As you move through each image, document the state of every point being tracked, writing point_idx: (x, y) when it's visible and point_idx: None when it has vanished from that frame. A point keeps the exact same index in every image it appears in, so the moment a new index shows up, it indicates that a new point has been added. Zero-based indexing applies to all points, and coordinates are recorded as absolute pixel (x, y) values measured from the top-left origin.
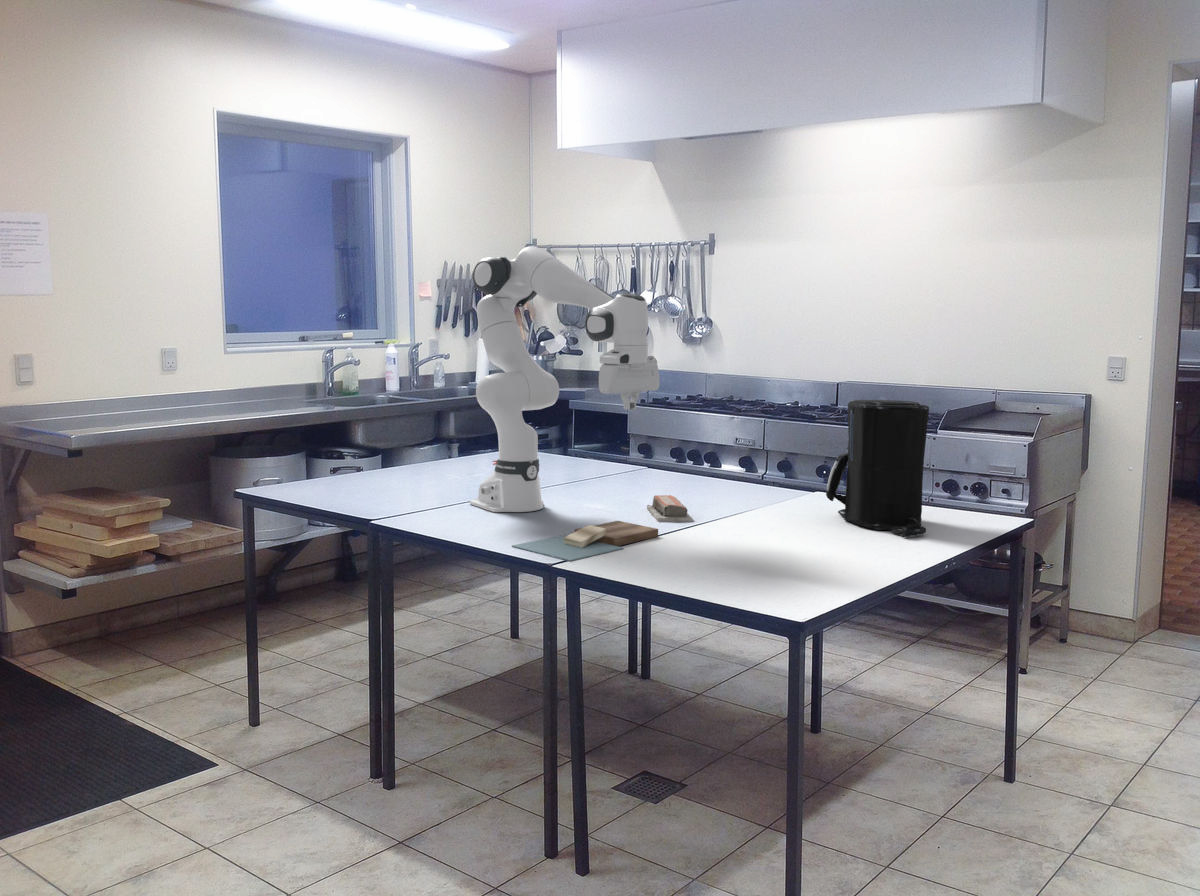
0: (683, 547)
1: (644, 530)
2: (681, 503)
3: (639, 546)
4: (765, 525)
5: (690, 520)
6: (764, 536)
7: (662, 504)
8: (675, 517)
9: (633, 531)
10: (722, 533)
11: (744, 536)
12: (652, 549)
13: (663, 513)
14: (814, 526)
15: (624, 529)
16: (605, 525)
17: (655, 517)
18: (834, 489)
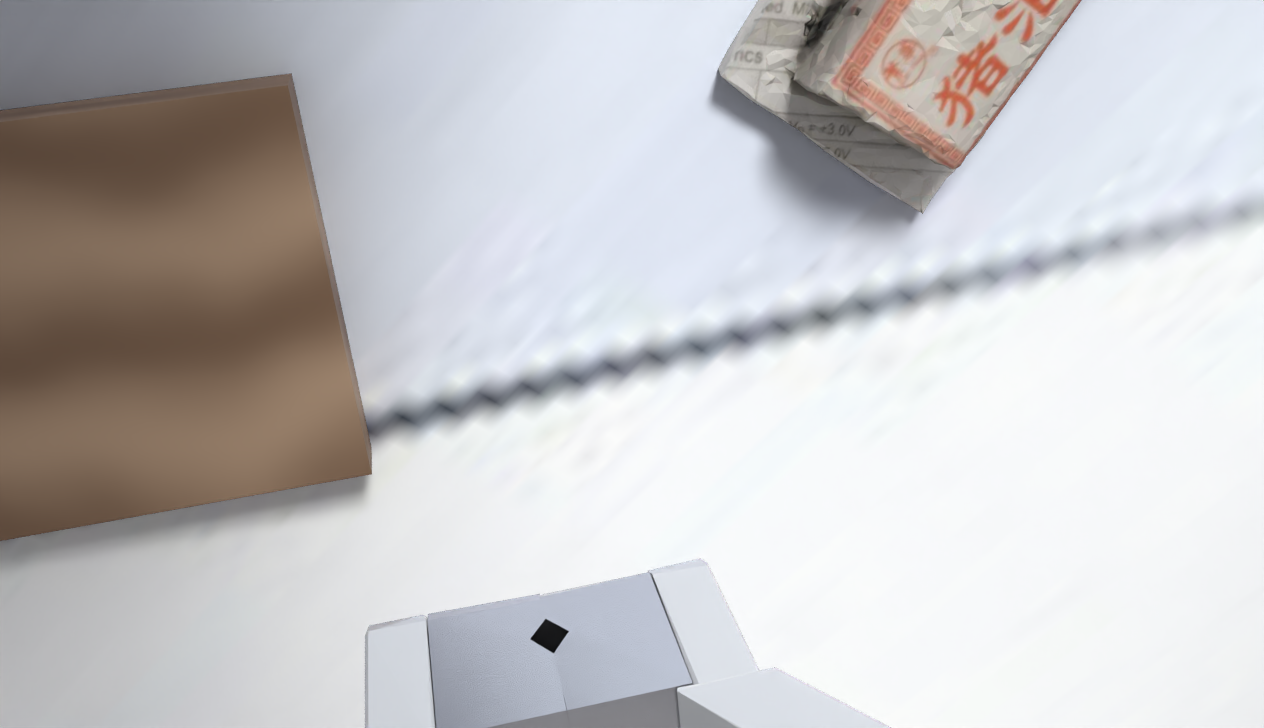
0: (316, 715)
1: (251, 466)
2: (1043, 42)
3: (83, 590)
4: (1112, 527)
5: (904, 200)
6: (876, 709)
7: (876, 9)
8: (858, 116)
9: (157, 453)
10: (766, 563)
11: (798, 667)
12: (112, 679)
13: (814, 52)
14: (1250, 657)
15: (135, 372)
16: (76, 180)
17: (760, 4)
18: None
